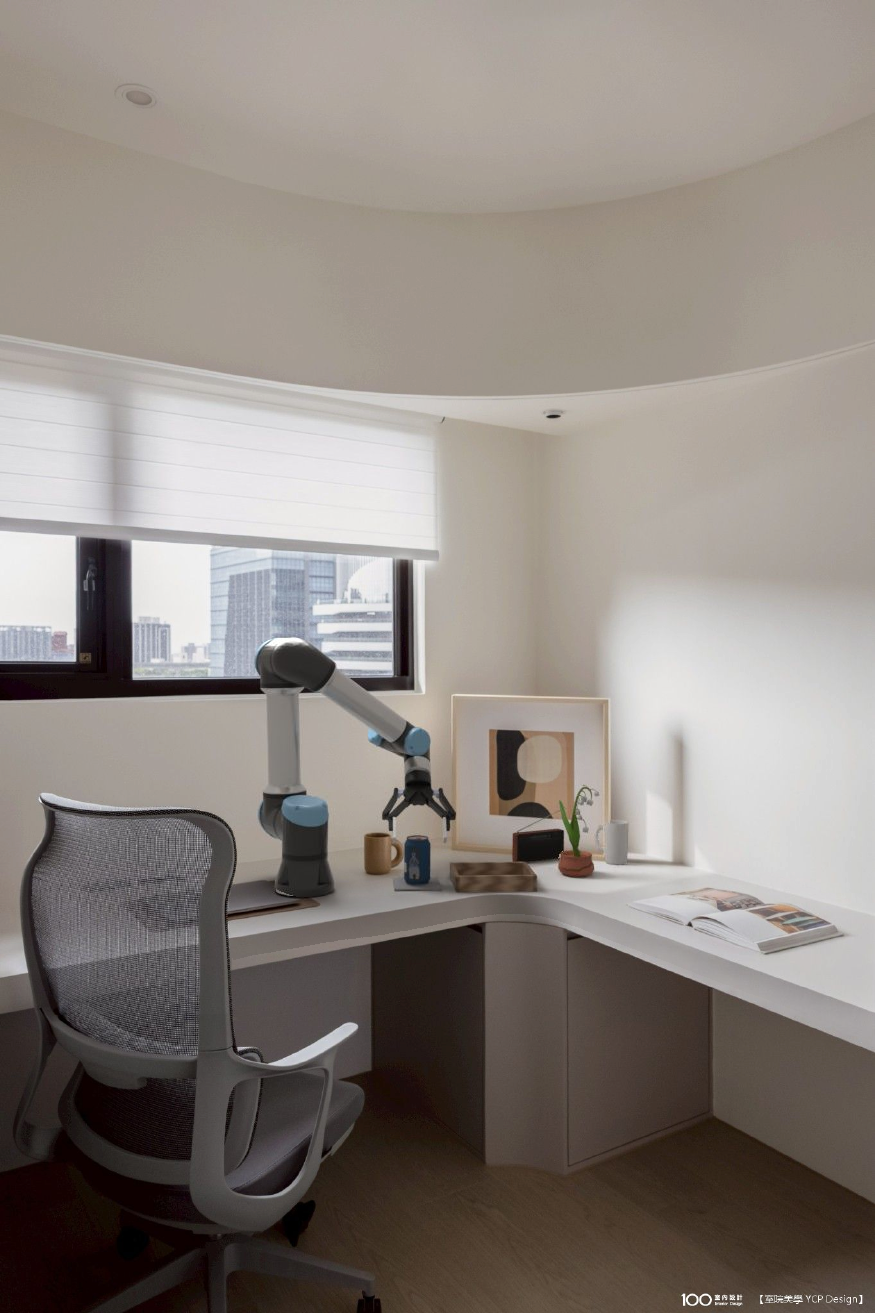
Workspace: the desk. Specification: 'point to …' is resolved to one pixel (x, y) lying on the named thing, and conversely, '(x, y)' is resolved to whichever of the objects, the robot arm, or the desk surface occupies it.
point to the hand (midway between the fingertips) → (419, 840)
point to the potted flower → (576, 841)
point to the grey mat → (402, 885)
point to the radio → (537, 844)
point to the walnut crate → (492, 877)
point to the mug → (614, 841)
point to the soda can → (417, 860)
